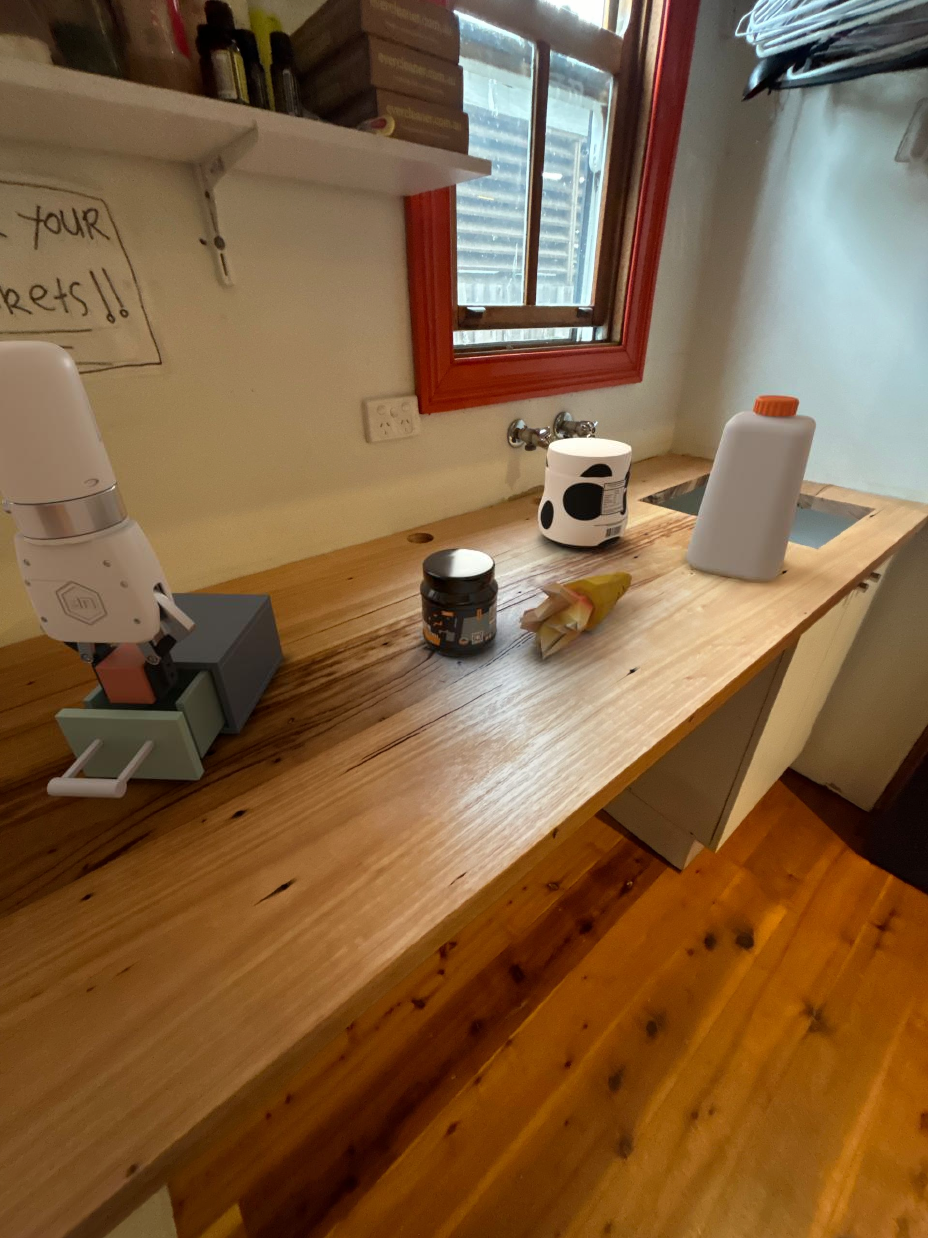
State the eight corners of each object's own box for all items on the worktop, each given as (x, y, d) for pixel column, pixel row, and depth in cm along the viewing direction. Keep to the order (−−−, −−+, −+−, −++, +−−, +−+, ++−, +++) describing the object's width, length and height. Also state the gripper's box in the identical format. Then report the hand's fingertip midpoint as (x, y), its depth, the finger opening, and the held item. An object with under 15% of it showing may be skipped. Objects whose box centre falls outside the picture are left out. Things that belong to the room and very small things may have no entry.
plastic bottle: (678, 568, 95) (715, 400, 81) (699, 540, 106) (734, 388, 92) (773, 589, 88) (831, 409, 74) (784, 557, 99) (837, 394, 84)
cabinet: (238, 734, 60) (217, 662, 55) (128, 731, 60) (96, 660, 55) (283, 658, 72) (269, 594, 67) (191, 656, 73) (171, 592, 68)
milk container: (546, 519, 117) (552, 434, 108) (628, 528, 112) (641, 439, 103) (527, 549, 103) (532, 454, 94) (619, 561, 98) (634, 462, 89)
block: (110, 703, 51) (94, 667, 49) (135, 676, 55) (121, 642, 53) (152, 704, 51) (138, 668, 49) (175, 677, 55) (162, 643, 53)
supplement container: (416, 625, 79) (412, 550, 73) (485, 615, 82) (485, 542, 75) (431, 665, 71) (426, 584, 64) (506, 653, 73) (509, 574, 67)
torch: (623, 618, 88) (536, 670, 70) (589, 584, 90) (497, 626, 73) (656, 584, 82) (570, 631, 65) (619, 549, 85) (527, 585, 67)
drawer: (165, 835, 47) (136, 771, 43) (40, 830, 48) (-1, 767, 44) (252, 693, 64) (237, 638, 60) (159, 691, 65) (138, 636, 61)
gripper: (-68, 527, 41) (34, 712, 50) (146, 529, 40) (208, 716, 49) (9, 496, 47) (86, 665, 57) (194, 497, 46) (241, 668, 56)
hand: (142, 687), depth 53 cm, fingers closed on block, 4 cm apart
